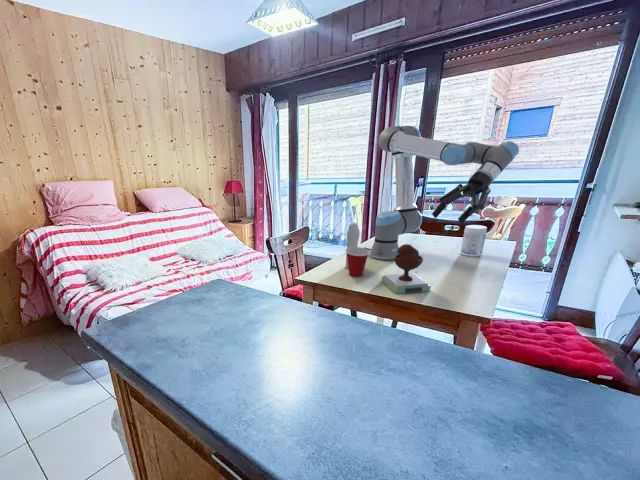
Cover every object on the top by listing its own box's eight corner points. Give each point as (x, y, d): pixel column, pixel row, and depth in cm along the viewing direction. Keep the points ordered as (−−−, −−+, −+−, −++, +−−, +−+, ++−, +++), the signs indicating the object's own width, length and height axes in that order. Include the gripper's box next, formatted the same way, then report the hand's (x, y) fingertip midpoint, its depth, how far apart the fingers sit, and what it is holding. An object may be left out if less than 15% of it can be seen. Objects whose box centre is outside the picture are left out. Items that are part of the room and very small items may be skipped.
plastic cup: (355, 280, 146) (357, 255, 141) (339, 274, 155) (340, 249, 150) (373, 275, 150) (375, 250, 146) (356, 269, 159) (358, 245, 155)
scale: (381, 281, 144) (382, 274, 142) (412, 279, 144) (413, 272, 143) (396, 294, 130) (397, 287, 129) (431, 292, 130) (432, 284, 129)
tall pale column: (353, 262, 169) (355, 220, 161) (360, 264, 167) (363, 221, 158) (342, 267, 163) (344, 224, 154) (349, 269, 160) (351, 225, 152)
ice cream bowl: (416, 285, 129) (422, 249, 123) (387, 280, 135) (391, 245, 130) (423, 277, 137) (428, 242, 131) (395, 273, 143) (399, 239, 137)
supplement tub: (471, 251, 176) (476, 224, 170) (486, 255, 167) (492, 227, 162) (455, 253, 174) (460, 225, 169) (470, 258, 166) (476, 229, 160)
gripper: (517, 186, 121) (476, 230, 124) (461, 181, 144) (428, 219, 146) (509, 171, 118) (468, 217, 120) (454, 169, 140) (419, 208, 143)
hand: (446, 218), depth 133 cm, fingers open, 13 cm apart
